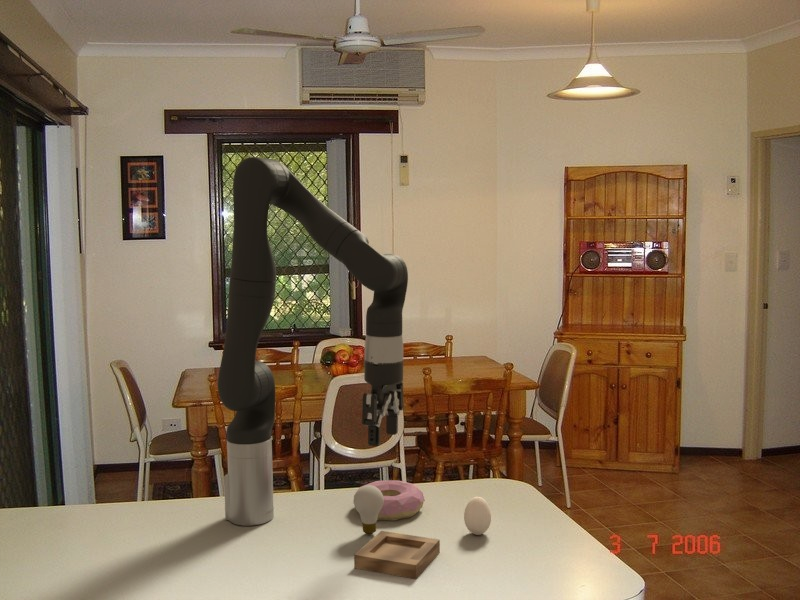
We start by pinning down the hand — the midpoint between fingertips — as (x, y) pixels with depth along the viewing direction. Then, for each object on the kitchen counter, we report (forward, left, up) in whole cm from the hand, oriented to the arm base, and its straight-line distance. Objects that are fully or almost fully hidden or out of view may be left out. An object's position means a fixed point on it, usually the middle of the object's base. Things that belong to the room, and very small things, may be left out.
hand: (383, 439), depth 156 cm
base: (+7, -9, -20) cm, 23 cm away
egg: (+17, +8, -20) cm, 27 cm away
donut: (-5, +14, -20) cm, 25 cm away
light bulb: (-3, 0, -20) cm, 20 cm away
